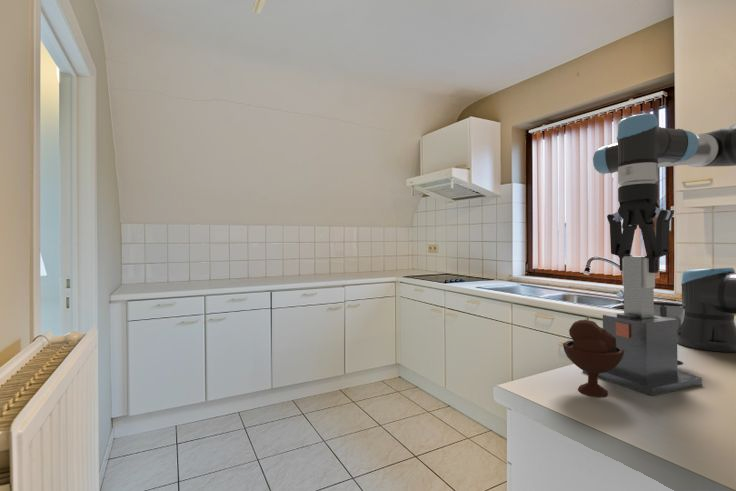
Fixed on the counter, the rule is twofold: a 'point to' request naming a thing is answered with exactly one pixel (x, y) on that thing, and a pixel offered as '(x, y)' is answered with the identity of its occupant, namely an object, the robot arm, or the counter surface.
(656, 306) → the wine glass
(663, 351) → the stand housing
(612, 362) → the ice cream bowl
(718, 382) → the counter surface
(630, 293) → the post
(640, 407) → the counter surface
